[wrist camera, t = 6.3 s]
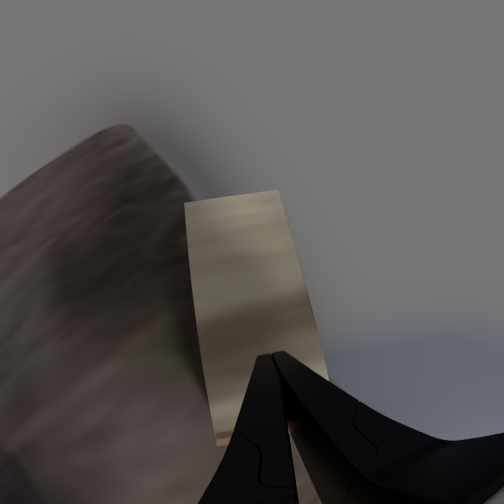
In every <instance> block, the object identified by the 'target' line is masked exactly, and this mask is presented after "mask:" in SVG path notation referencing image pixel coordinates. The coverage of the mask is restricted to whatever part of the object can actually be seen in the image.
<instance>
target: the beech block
mask: <svg viewBox="0 0 504 504" xmlns="http://www.w3.org/2000/svg"><path fill="white" fill-rule="evenodd" d="M184 206H185V220H186V232H187V244H188V254H189V264H190V274H191V283H192V292H193V300H194V309H195V316H196V324H197V331H198V339H199V345H200V352H201V359H202V365H203V372H204V378H205V384H206V390H207V395H208V401H209V407H210V412H211V417H212V423H213V428H214V433H215V438H216V443H217V446H224V445H228V444H229V442H230V439H231V436H232V433H233V432H234V427H235V424H236V421H237V418H238V415H239V412H240V408H241V405H242V402H243V399H244V396H245V393H246V390H247V386H248V383H249V380H250V377H251V373H252V370H253V367H254V364H255V360H256V357H257V356H258V355H262V354H267V353H269V354H271V353H273V352H277V351H286V352H287V353H289V354H290V355H291V356H293V357H294V358H296V359H297V360H299V361H300V362H301V363H303V364H304V365H306V366H307V367H309V368H310V369H312V370H313V371H315V372H316V373H318V374H319V375H321V376H322V377H323V378H325V379H326V380H328V381H329V378H328V373H327V369H326V364H325V360H324V356H323V352H322V348H321V344H320V339H319V336H318V331H317V327H316V323H315V319H314V315H313V311H312V307H311V304H310V300H309V296H308V292H307V288H306V285H305V281H304V277H303V274H302V270H301V266H300V262H299V259H298V255H297V252H296V248H295V244H294V241H293V237H292V234H291V230H290V227H289V223H288V220H287V217H286V213H285V210H284V206H283V203H282V200H281V196H280V193H279V190H272V191H264V192H257V193H249V194H241V195H234V196H226V197H219V198H213V199H206V200H200V201H193V202H186V203H184ZM288 430H289V429H288ZM289 434H291V433H290V431H289Z"/></svg>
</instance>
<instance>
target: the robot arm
mask: <svg viewBox="0 0 504 504" xmlns="http://www.w3.org/2000/svg"><path fill="white" fill-rule="evenodd" d="M288 429H289V430H288ZM289 431H290V433H291V436H292V438H293V440H294V443H295V445H296V447H297V449H298V452H299V454H300V456H301V458H302V461H303V463H304V465H305V467H306V470H307V472H308V474H309V476H310V478H311V481H312V483H313V485H314V487H315V489H316V491H317V494H318V496H319V498H320V500H321V502H322V504H504V433H500V434H494V435H489V436H484V437H478V438H471V439H465V440H457V441H449V440H442V439H438V438H435V437H432V436H430V435H427V434H425V433H422V432H420V431H417V430H415V429H413V428H410V427H408V426H406V425H403V424H401V423H399V422H397V421H394V420H392V419H390V418H388V417H386V416H384V415H382V414H380V413H379V412H377V411H375V410H373V409H371V408H370V407H368V406H367V405H365V404H364V403H362V402H359V401H358V400H357V399H356V398H354V397H352V396H351V395H349V394H348V393H346V392H345V391H343V390H342V389H340V388H339V387H337V386H336V385H334V384H332V383H331V382H329V381H328V380H326V379H325V378H323V377H322V376H321V375H319V374H318V373H316V372H315V371H313V370H312V369H310V368H309V367H307V366H306V365H304V364H303V363H301V362H300V361H299V360H297V359H296V358H294V357H293V356H291V355H290V354H289V353H287V352H286V351H277V352H273V353H271V354H269V353H267V354H262V355H258V356H257V357H256V360H255V364H254V367H253V370H252V373H251V377H250V380H249V383H248V386H247V390H246V393H245V396H244V399H243V402H242V405H241V408H240V412H239V415H238V418H237V421H236V424H235V427H234V432H233V433H232V436H231V439H230V442H229V444H228V447H227V449H226V452H225V455H224V457H223V459H222V461H221V463H220V465H219V467H218V469H217V471H216V473H215V474H214V476H213V478H212V480H211V482H210V483H209V485H208V487H207V489H206V490H205V492H204V494H203V495H202V497H201V499H200V501H199V502H198V504H299V500H298V494H297V487H296V479H295V472H294V465H293V458H292V451H291V444H290V437H289Z"/></svg>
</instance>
